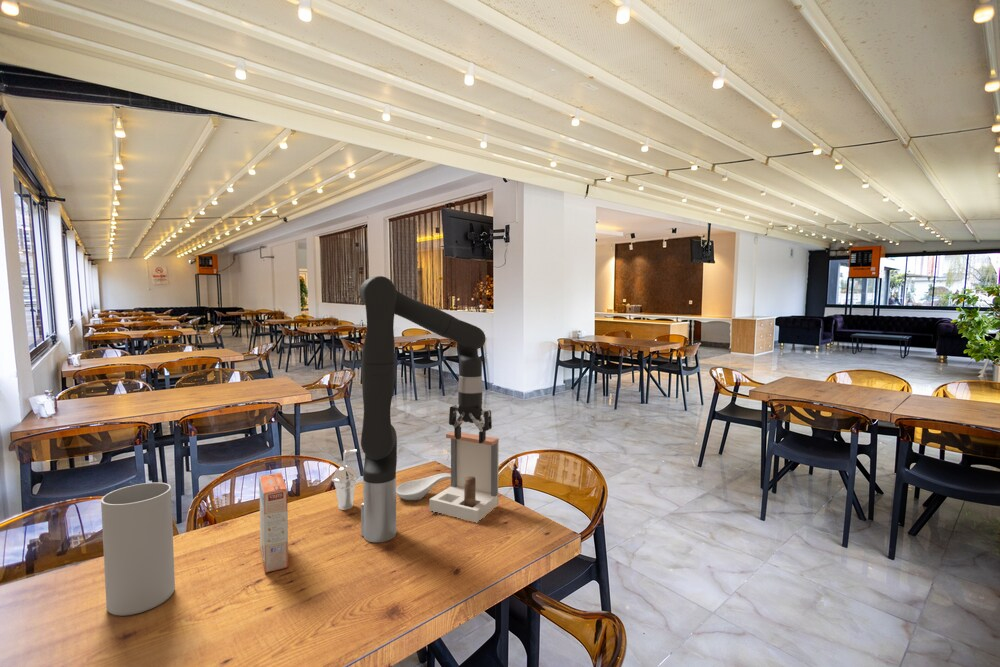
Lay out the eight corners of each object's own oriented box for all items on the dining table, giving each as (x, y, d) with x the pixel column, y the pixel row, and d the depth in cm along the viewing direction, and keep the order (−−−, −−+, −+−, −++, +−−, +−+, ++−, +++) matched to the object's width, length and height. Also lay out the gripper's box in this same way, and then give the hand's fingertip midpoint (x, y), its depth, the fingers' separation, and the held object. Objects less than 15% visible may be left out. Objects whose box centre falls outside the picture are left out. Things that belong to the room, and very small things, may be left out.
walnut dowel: (462, 515, 152) (462, 479, 152) (468, 511, 156) (468, 475, 155) (471, 518, 151) (471, 481, 150) (477, 513, 154) (477, 477, 153)
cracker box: (290, 567, 122) (288, 488, 121) (264, 574, 119) (261, 493, 118) (283, 543, 134) (282, 471, 133) (259, 549, 131) (257, 475, 130)
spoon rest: (397, 506, 159) (397, 485, 159) (393, 493, 171) (393, 473, 170) (465, 498, 167) (466, 478, 166) (458, 485, 178) (458, 467, 177)
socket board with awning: (429, 511, 156) (429, 441, 154) (453, 495, 168) (453, 431, 166) (476, 523, 147) (477, 449, 146) (498, 506, 160) (498, 438, 158)
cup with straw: (352, 499, 164) (351, 442, 163) (364, 507, 158) (363, 448, 156) (327, 506, 159) (326, 447, 157) (339, 515, 152) (338, 454, 151)
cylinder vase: (137, 582, 115) (132, 482, 114) (187, 584, 115) (183, 483, 113) (91, 616, 103) (85, 504, 101) (147, 618, 102) (142, 505, 101)
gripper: (444, 389, 149) (444, 440, 150) (484, 394, 142) (483, 447, 143) (457, 386, 155) (457, 434, 156) (496, 390, 149) (495, 441, 150)
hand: (469, 440), depth 150 cm, fingers open, 8 cm apart
